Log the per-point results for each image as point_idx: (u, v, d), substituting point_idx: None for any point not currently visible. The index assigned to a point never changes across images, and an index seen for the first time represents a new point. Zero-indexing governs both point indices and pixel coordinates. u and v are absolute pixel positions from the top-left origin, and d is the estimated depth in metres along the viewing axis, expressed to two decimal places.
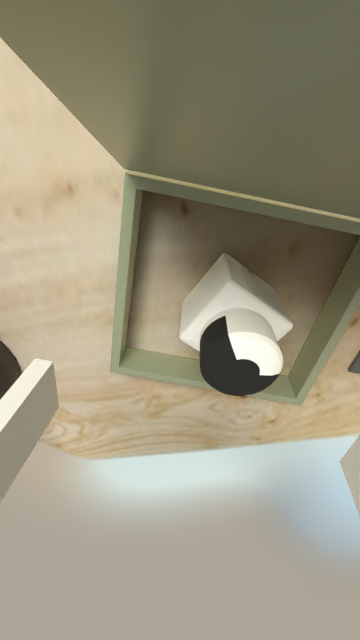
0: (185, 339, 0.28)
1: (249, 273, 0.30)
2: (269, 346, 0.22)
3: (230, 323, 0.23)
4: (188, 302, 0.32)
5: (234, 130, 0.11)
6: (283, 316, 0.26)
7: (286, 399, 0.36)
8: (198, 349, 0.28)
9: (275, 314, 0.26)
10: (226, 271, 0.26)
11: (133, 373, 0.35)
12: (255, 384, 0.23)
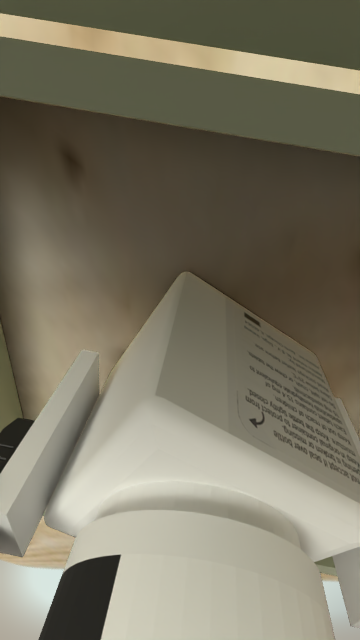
0: (57, 527, 0.10)
1: (248, 324, 0.12)
2: None
3: None
4: (106, 388, 0.14)
5: None
6: (354, 497, 0.08)
7: None
8: None
9: (328, 504, 0.07)
10: (160, 345, 0.08)
11: None
12: None
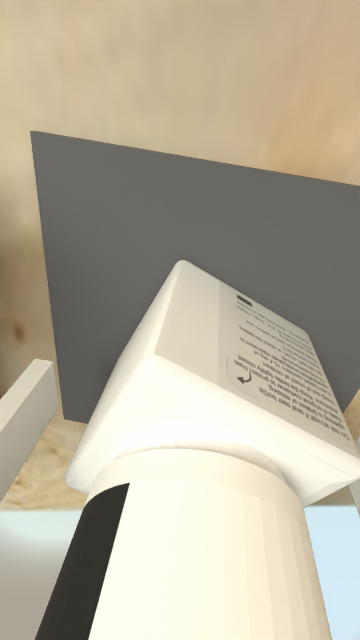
0: (76, 487, 0.11)
1: (240, 304, 0.13)
2: None
3: (126, 547, 0.06)
4: (115, 370, 0.15)
5: None
6: (332, 443, 0.09)
7: None
8: None
9: (307, 446, 0.08)
10: (158, 318, 0.09)
11: None
12: None
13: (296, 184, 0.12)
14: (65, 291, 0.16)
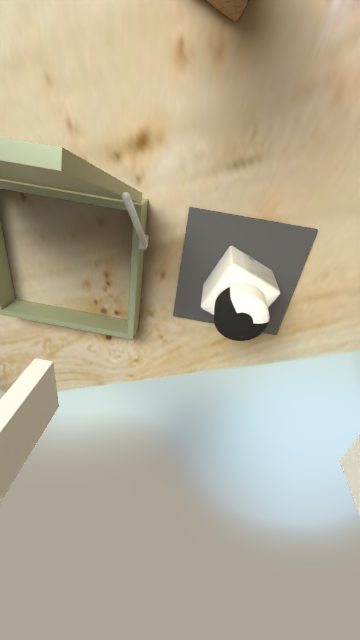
0: (205, 307, 0.40)
1: (250, 259, 0.42)
2: (257, 303, 0.33)
3: (232, 290, 0.35)
4: (207, 283, 0.44)
5: None
6: (272, 286, 0.38)
7: (121, 334, 0.50)
8: None
9: (266, 285, 0.37)
10: (231, 258, 0.38)
11: (12, 314, 0.50)
12: (251, 330, 0.35)
13: (266, 223, 0.41)
14: (188, 257, 0.45)
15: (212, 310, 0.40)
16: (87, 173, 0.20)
